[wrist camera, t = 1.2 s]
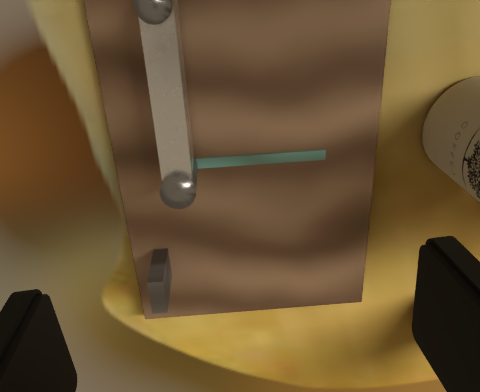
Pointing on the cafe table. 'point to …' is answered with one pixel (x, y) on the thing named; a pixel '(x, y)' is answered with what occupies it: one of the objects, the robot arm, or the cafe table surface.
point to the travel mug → (456, 134)
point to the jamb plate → (251, 151)
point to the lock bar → (168, 99)
